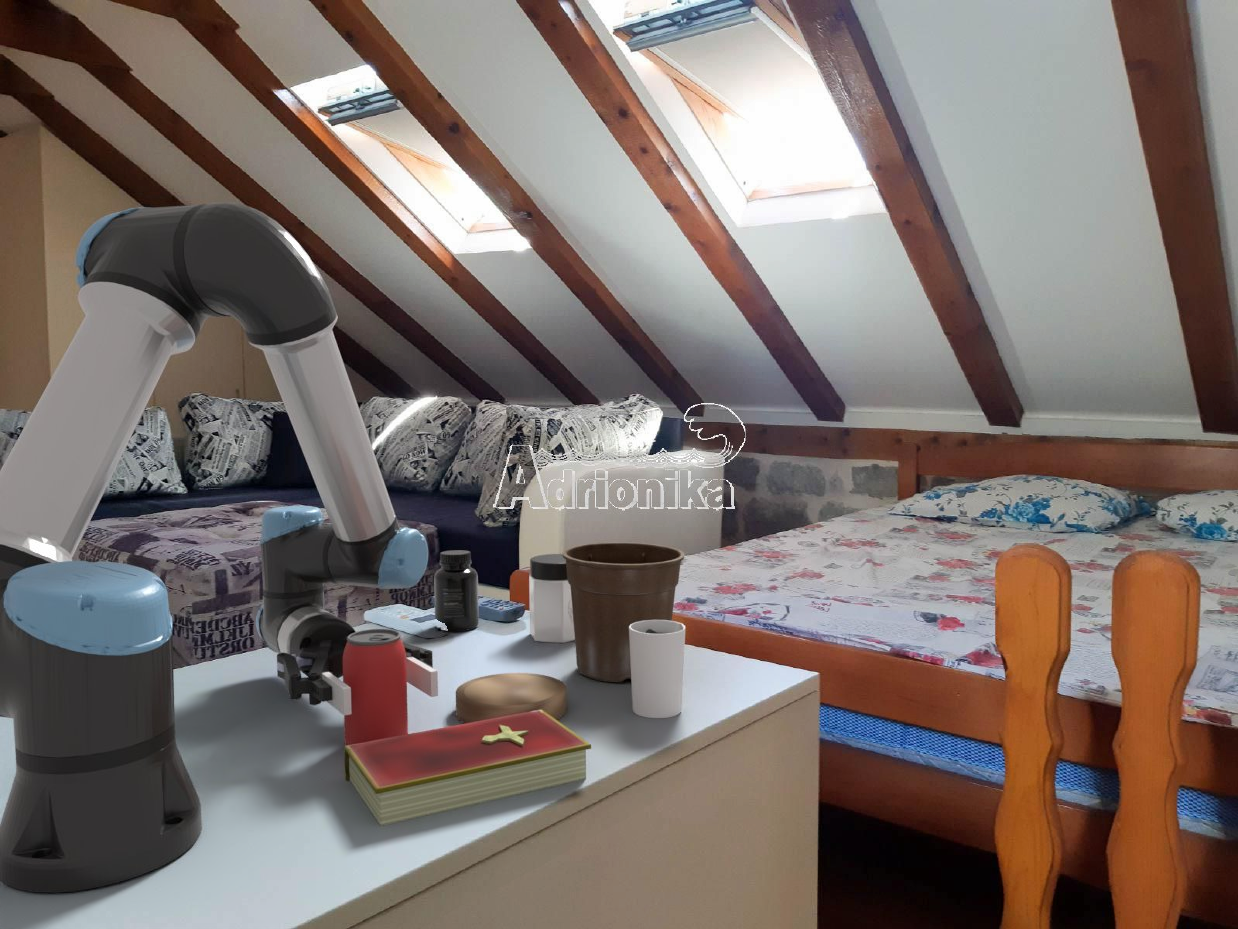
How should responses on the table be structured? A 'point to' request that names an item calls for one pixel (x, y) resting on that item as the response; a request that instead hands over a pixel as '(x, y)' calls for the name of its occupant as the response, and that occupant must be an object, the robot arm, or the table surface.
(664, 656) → the white cup
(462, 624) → the supplement bottle
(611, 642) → the plant pot
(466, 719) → the shallow wooden bowl
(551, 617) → the jar
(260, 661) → the table surface
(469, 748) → the hardcover book
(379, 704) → the beer can
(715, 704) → the table surface
